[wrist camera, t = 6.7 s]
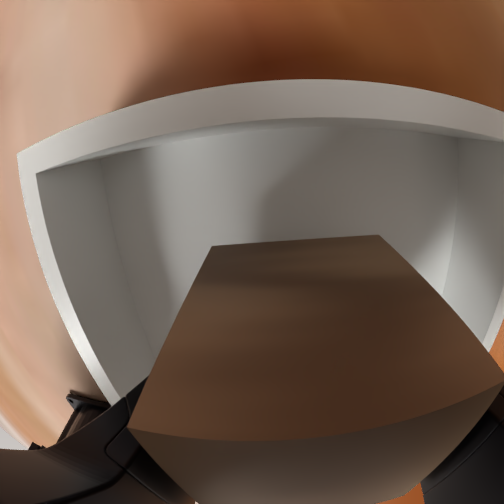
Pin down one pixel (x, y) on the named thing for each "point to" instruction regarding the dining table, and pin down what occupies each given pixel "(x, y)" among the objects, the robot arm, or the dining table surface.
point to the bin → (259, 200)
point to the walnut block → (311, 377)
